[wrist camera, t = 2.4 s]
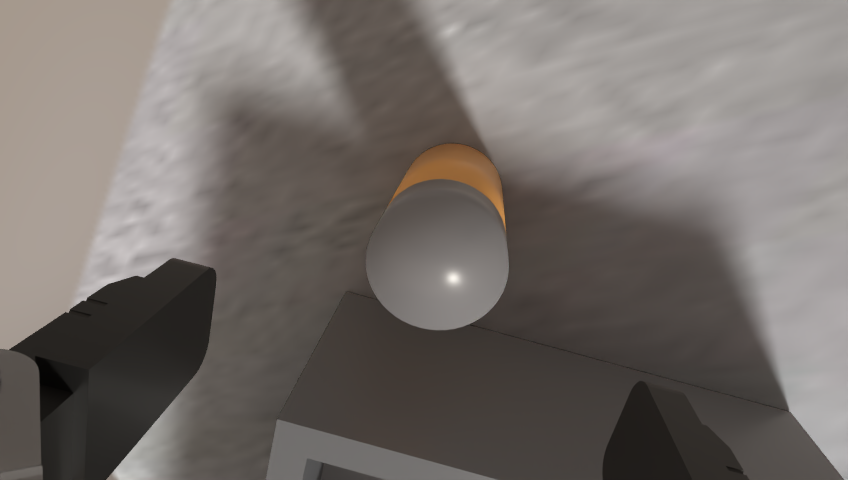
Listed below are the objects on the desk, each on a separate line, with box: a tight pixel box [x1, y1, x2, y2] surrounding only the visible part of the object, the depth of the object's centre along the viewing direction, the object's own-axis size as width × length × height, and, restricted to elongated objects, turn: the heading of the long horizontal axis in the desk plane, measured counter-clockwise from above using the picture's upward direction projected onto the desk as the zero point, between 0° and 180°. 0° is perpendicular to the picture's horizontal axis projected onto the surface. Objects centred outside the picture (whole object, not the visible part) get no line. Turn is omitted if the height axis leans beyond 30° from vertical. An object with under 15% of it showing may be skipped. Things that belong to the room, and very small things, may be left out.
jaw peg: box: [366, 143, 509, 330], centre depth 18 cm, size 4×4×7 cm
